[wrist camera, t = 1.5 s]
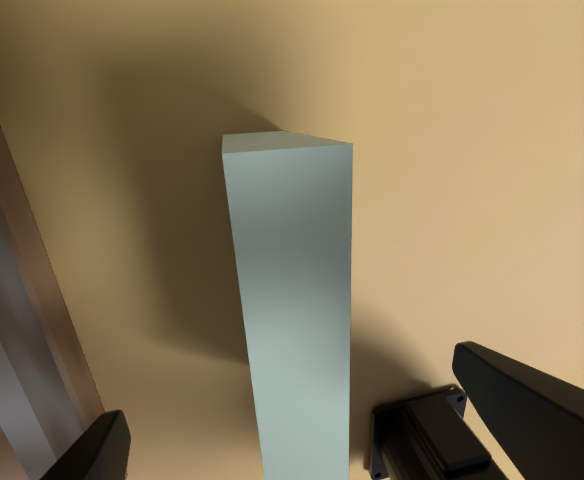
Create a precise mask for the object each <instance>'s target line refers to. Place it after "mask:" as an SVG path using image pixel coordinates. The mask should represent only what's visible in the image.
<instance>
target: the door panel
mask: <svg viewBox="0 0 584 480" xmlns="http://www.w3.org/2000/svg"><path fill="white" fill-rule="evenodd" d="M352 158H353V144H351V143H346V142H341V141H336V140H330V139H325V138H320V137H314V136H309V135H304V134H298V133H293V132H288V131H270V132H255V133H240V134H225V135H223V139H222V159H223V167H224V175H225V182H226V190H227V197H228V205H229V212H230V220H231V228H232V235H233V243H234V250H235V258H236V266H237V273H238V281H239V288H240V296H241V303H242V311H243V319H244V326H245V334H246V341H247V349H248V357H249V364H250V372H251V379H252V387H253V394H254V402H255V410H256V417H257V425H258V432H259V440H260V448H261V455H262V463H263V470H264V478H265V480H348V474H349V395H350V316H351V237H352Z"/></svg>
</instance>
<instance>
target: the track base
mask: <svg viewBox="0 0 584 480" xmlns="http://www.w3.org/2000/svg"><path fill="white" fill-rule="evenodd" d="M102 413H104V409H103V406H102V403H101V401H100V398H99V395H98V392H97V390H96V387H95V384H94V381H93V379H92V376H91V373H90V370H89V368H88V365H87V362H86V359H85V357H84V354H83V351H82V349H81V346H80V343H79V340H78V338H77V335H76V332H75V329H74V327H73V324H72V321H71V318H70V316H69V313H68V310H67V307H66V305H65V302H64V299H63V297H62V294H61V291H60V288H59V286H58V283H57V280H56V277H55V275H54V272H53V269H52V266H51V264H50V261H49V258H48V255H47V253H46V250H45V247H44V245H43V242H42V239H41V236H40V234H39V231H38V228H37V225H36V223H35V220H34V217H33V214H32V212H31V209H30V206H29V203H28V201H27V198H26V195H25V192H24V190H23V187H22V184H21V182H20V179H19V176H18V173H17V171H16V168H15V165H14V162H13V160H12V157H11V154H10V151H9V149H8V146H7V143H6V140H5V138H4V135H3V132H2V130H1V127H0V480H39V479H40V478H41V477H42V476H43V475H44V474H45V473H46V472H47V471H48V470H49V469H50V467H51V466H52V465H53V464H54V463H55V462H56V461H57V460H58V459H59V458H60V457H61V456H62V455H63V454H64V453H65V452H66V451H67V449H68V448H69V447H70V446H71V445H72V444H73V443H74V442H75V441H76V440H77V439H78V438H79V437H80V436H81V435H82V434H83V432H84V431H85V430H86V429H87V428H88V427H89V426H90V425H91V424H92V423H93V422H94V421H95V420H96V419H97V418H98V417H99V416H100V415H101V414H102ZM127 475H128V474H127V472H126V475H125V480H126V478H127Z"/></svg>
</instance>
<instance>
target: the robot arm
mask: <svg viewBox="0 0 584 480" xmlns="http://www.w3.org/2000/svg"><path fill="white" fill-rule="evenodd" d="M452 369H453V372H454V375H455V376H456V378H457V380H458V381H459V383H460V385H461V386H462V388H463V390H464V391H465V392H464V391H463V390H462V389H460V388H457V389H452V390H448V391H443V392H439V393H434V394H430V395H425V396H421V397H416V398H412V399H407V400H403V401H398V402H394V403H389V404H385V405H380V406H377V407H375V408H374V409H373V410H372V413H371V434H370V456H369V474H370V476H371V479H372V480H380V479H384V478H388V477H389V478H390V480H509V479H508V478H507V476H506V475H505V474H504V473H503V471H502V470H501V469H500V468H499V466H498V465H497V464H496V463H495V461H494V460H493V459H492V456H491V454H490V452H489V451H488V450H487V449H486V447H485V446H484V445H483V444H482V442H481V441H480V440H479V439H478V437H477V436H476V435H475V434H474V432H473V431H472V430H471V429H470V427H469V426H468V425H467V424H466V422H465V421H464V420H463V417H464V411H465V406H466V401H467V396H468V398H469V399H470V401H471V403H472V404H473V406H474V408H475V409H476V411H477V413H478V414H479V416H480V418H481V419H482V421H483V422H484V424H485V425H486V427H487V428H488V430H489V431H490V432H491V434H492V435H493V437H494V438H495V439H496V441H497V442H498V443H499V445H500V446H501V448H502V449H503V450H504V452H505V453H506V454H507V456H508V457H509V458H510V460H511V461H512V463H513V464H514V465H515V467H516V468H517V469H518V471H519V472H520V473H521V475H522V476H523V478H524V479H525V480H584V389H582V388H579V387H577V386H575V385H572V384H570V383H568V382H565V381H563V380H561V379H558V378H556V377H554V376H551V375H549V374H547V373H544V372H542V371H540V370H537V369H535V368H533V367H530V366H528V365H526V364H523V363H521V362H519V361H516V360H514V359H512V358H509V357H507V356H505V355H502V354H500V353H498V352H495V351H493V350H491V349H488V348H486V347H484V346H481V345H479V344H477V343H474V342H472V341H466V342H461V343H457V344H456V346H455V349H454V356H453V362H452ZM130 442H131V436H130V431H129V428H128V425H127V422H126V419H125V416H124V413H123V411H122V410H119V409H118V410H113V411H108V412H104V413H102V414H101V415H100V416H99V417H98V418H97V419H96V420H95V421H94V422H93V423H92V424H91V425H90V426H89V427H88V428H87V429H86V430H85V431H84V432H83V434H82V435H81V436H80V437H79V438H78V439H77V440H76V441H75V442H74V443H73V444H72V445H71V446H70V447H69V448H68V449H67V451H66V452H65V453H64V454H63V455H62V456H61V457H60V458H59V459H58V460H57V461H56V462H55V463H54V464H53V465H52V466H51V467H50V469H49V470H48V471H47V472H46V473H45V474H44V475H43V476H42V477H41V478H40V479H39V480H125V475H126V469H127V462H128V456H129V449H130Z"/></svg>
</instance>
